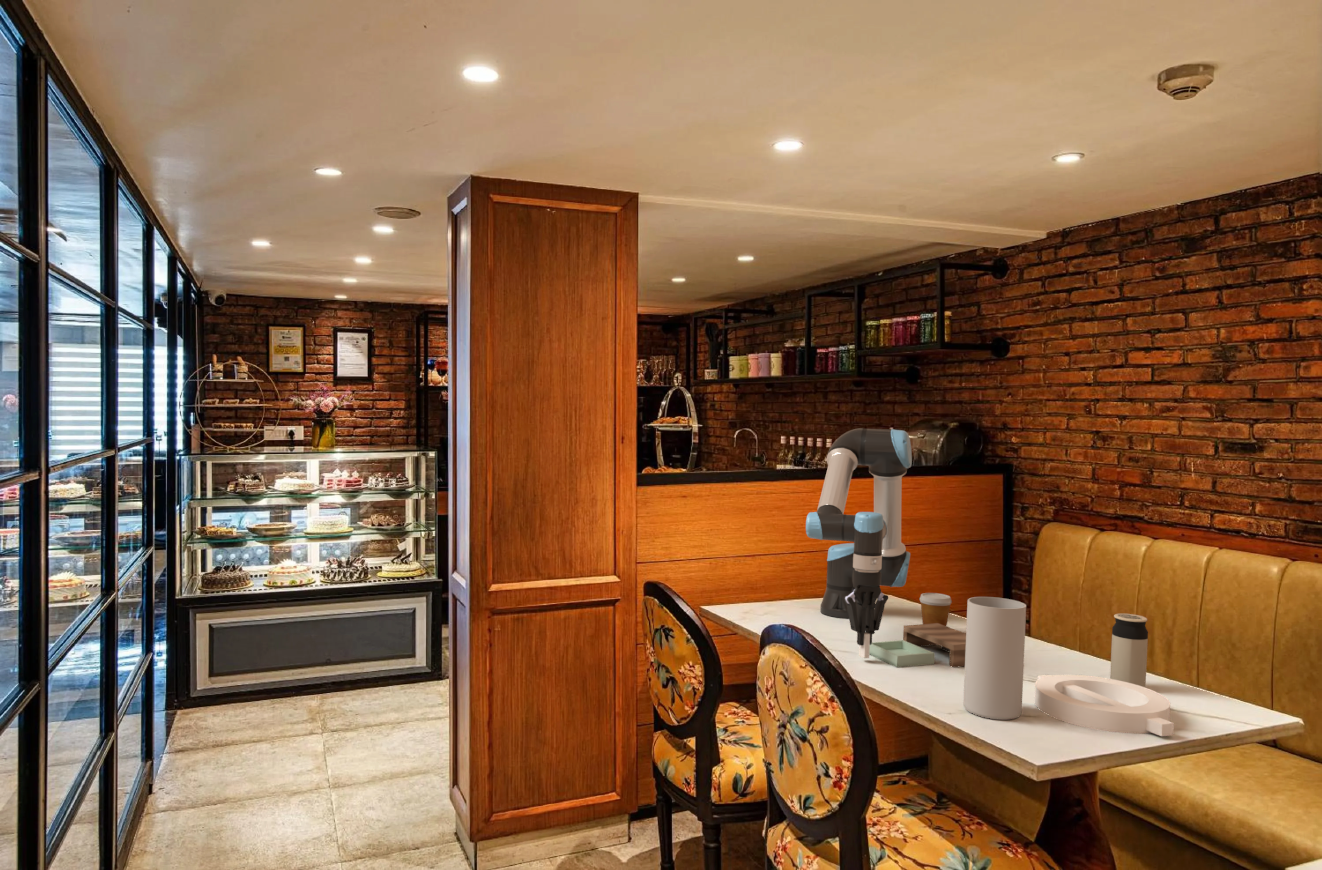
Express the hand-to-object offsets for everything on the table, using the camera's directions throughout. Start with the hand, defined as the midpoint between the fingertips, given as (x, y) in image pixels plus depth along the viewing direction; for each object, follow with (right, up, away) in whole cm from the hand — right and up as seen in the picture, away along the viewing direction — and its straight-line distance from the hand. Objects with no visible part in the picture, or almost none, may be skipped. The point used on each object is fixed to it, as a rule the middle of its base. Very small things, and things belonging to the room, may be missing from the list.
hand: (863, 656), depth 245 cm
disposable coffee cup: (+29, -1, +33) cm, 44 cm away
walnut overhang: (+25, -2, +10) cm, 27 cm away
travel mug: (+63, -4, -16) cm, 65 cm away
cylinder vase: (+21, -3, -38) cm, 43 cm away
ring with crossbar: (+46, -5, -36) cm, 59 cm away
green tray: (+11, -2, +4) cm, 12 cm away
